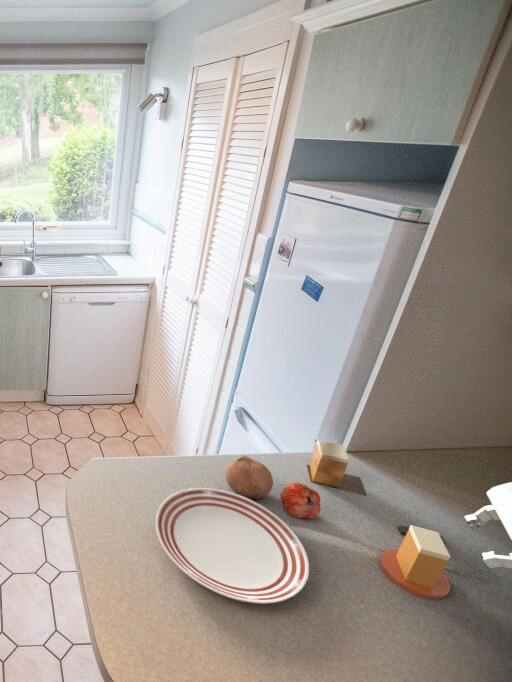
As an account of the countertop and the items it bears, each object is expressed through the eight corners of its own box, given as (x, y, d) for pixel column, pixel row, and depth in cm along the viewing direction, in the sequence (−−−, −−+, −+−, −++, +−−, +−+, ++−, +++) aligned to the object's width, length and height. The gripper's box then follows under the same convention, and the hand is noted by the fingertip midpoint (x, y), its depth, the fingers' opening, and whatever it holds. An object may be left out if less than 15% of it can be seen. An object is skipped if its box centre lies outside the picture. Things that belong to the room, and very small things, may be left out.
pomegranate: (269, 510, 103) (288, 515, 94) (274, 477, 105) (293, 480, 95) (305, 520, 101) (328, 526, 92) (310, 487, 103) (332, 490, 93)
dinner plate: (316, 638, 74) (321, 625, 73) (144, 577, 85) (146, 565, 83) (295, 522, 97) (299, 510, 96) (162, 485, 108) (164, 474, 106)
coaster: (436, 563, 87) (438, 560, 87) (457, 608, 79) (460, 604, 78) (372, 546, 91) (374, 542, 91) (387, 586, 83) (388, 582, 82)
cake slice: (422, 563, 86) (438, 532, 83) (433, 588, 81) (450, 556, 78) (395, 555, 88) (410, 524, 85) (405, 580, 83) (421, 548, 80)
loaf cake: (358, 479, 109) (370, 449, 105) (366, 498, 103) (378, 467, 100) (305, 467, 113) (315, 438, 110) (309, 484, 107) (319, 454, 104)
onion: (227, 493, 109) (220, 452, 110) (271, 491, 106) (264, 449, 106) (232, 507, 100) (225, 462, 101) (280, 506, 97) (273, 460, 97)
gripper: (642, 589, 61) (510, 604, 70) (570, 495, 77) (469, 517, 86) (611, 552, 62) (483, 571, 70) (545, 466, 78) (447, 490, 86)
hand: (475, 540), depth 78 cm, fingers open, 8 cm apart
